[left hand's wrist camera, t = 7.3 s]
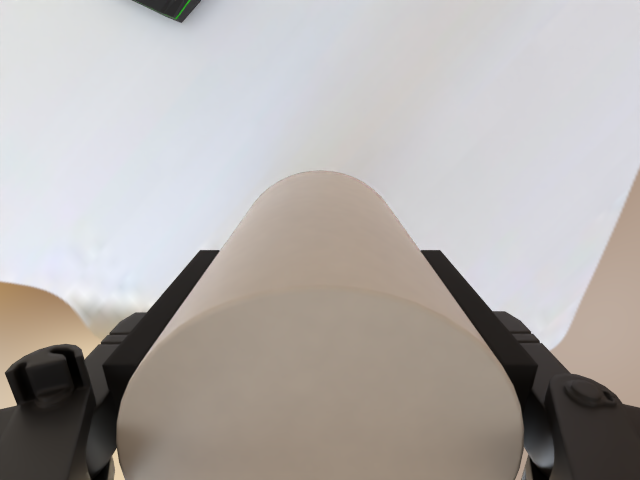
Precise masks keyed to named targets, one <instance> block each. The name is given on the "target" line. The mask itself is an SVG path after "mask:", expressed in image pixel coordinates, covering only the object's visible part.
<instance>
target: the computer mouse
mask: <svg viewBox="0 0 640 480" xmlns="http://www.w3.org/2000/svg"><path fill="white" fill-rule="evenodd" d="M133 1H135V2H137V3H139V4H141V5H143V6H145V7H147V8H149V9H151V10H153V11H156V12H158V13H160V14H162V15H164V16H166V17H168V18H171V19H173V20H176V21H179V22H181V23H182V22H183V20H184V19H185V18H186V17H187V16H188V15H189V14H190V12H191V11H192V10H193V9H194V8H195V7H196V6H197V4H198V3H199V2H200V1H201V0H133Z"/></svg>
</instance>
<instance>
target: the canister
mask: <svg viewBox="0 0 640 480" xmlns="http://www.w3.org/2000/svg"><path fill="white" fill-rule="evenodd" d="M116 445H117V451H118V457H119V463H120V466H121V469H122V472H123V475H124V478H125V480H515V478H516V476H517V473H518V471H519V468H520V463H521V459H522V454H523V449H524V425H523V418H522V412H521V406H520V403H519V400H518V397H517V394H516V391H515V389H514V386H513V384H512V382H511V380H510V379H509V377H508V375H507V373H506V372H505V370H504V368H503V366H502V365H501V363H500V362H499V361H498V359H497V358H496V356H495V355H494V354H493V352H492V351H491V349H490V348H489V347H488V345H487V344H486V342H485V341H484V340H483V338H482V337H481V335H480V334H479V333H478V331H477V330H476V328H475V327H474V326H473V324H472V323H471V321H470V320H469V319H468V317H467V316H466V314H465V313H464V312H463V310H462V309H461V307H460V306H459V305H458V303H457V302H456V300H455V299H454V298H453V296H452V295H451V293H450V292H449V291H448V289H447V288H446V286H445V285H444V283H443V282H442V281H441V279H440V278H439V276H438V275H437V274H436V272H435V271H434V269H433V268H432V267H431V265H430V264H429V262H428V261H427V260H426V258H425V257H424V255H423V254H422V253H421V251H420V250H419V248H418V247H417V246H416V244H415V243H414V241H413V240H412V239H411V237H410V236H409V234H408V233H407V232H406V230H405V229H404V227H403V226H402V225H401V223H400V222H399V220H398V219H397V218H396V216H395V215H394V213H393V212H392V211H391V209H390V208H389V206H388V205H387V204H386V202H385V201H384V200H383V199H382V197H381V196H380V195H379V194H378V193H377V192H375V191H374V190H373V189H372V188H371V187H369V186H368V185H366V184H365V183H363V182H361V181H360V180H358V179H356V178H354V177H351V176H348V175H345V174H342V173H337V172H332V171H308V172H303V173H298V174H295V175H292V176H289V177H287V178H285V179H283V180H280V181H278V182H277V183H275V184H274V185H272V186H271V187H269V188H268V189H267V190H266V191H265V192H264V193H262V194H261V195H260V197H259V198H258V199H257V200H256V201H255V202H254V204H253V205H252V207H251V208H250V209H249V211H248V212H247V214H246V215H245V216H244V218H243V219H242V221H241V222H240V223H239V225H238V226H237V228H236V229H235V230H234V232H233V233H232V235H231V236H230V238H229V239H228V240H227V242H226V243H225V245H224V246H223V247H222V249H221V250H220V252H219V253H218V254H217V256H216V257H215V259H214V260H213V261H212V263H211V264H210V266H209V267H208V268H207V270H206V271H205V273H204V274H203V275H202V277H201V278H200V280H199V281H198V283H197V284H196V285H195V287H194V288H193V290H192V291H191V292H190V294H189V295H188V297H187V298H186V299H185V301H184V302H183V304H182V305H181V306H180V308H179V309H178V311H177V312H176V313H175V315H174V316H173V318H172V319H171V320H170V322H169V323H168V325H167V326H166V328H165V329H164V330H163V332H162V333H161V335H160V336H159V337H158V339H157V340H156V342H155V343H154V344H153V346H152V347H151V349H150V350H149V351H148V353H147V354H146V356H145V357H144V358H143V360H142V361H141V363H140V365H139V366H138V368H137V369H136V371H135V372H134V374H133V376H132V377H131V379H130V380H129V383H128V385H127V388H126V390H125V393H124V395H123V397H122V400H121V404H120V409H119V414H118V419H117V433H116Z"/></svg>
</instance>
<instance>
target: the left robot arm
mask: <svg viewBox="0 0 640 480" xmlns="http://www.w3.org/2000/svg"><path fill="white" fill-rule="evenodd" d="M219 252H220V250H200V251H199V252H198V253H197V255H196V256H195V257H194V258H193V259H192V260H191V262H190V263H189V264H188V265H187V266H186V267H185V269H184V270H183V271H182V272H181V273H180V274H179V276H178V277H177V278H176V279H175V280H174V281H173V283H172V284H171V285H170V286H169V287H168V288H167V290H166V291H165V292H164V293H163V294H162V295H161V297H160V298H159V299H158V300H157V301H156V302H155V304H154V305H153V306H152V307H151V308H150V310H149V311H148V312H147V313H134V314H132V315H131V316H129V317H127V318H126V319H124V320H122V321H121V322H120V323H119V324H118V325H117V326H116V327H115V328H114V329H113V330H112V331H111V332H110V335H107V336H106V337H105V338H104V339H103V341H102V342H101V344H99V345H98V346H97V347H96V348H95V349H94V350H93V351H92V352H91V353H90V354H89V355H88V356H87V357H86V359H85V360H84V357H83V353H82V350H81V349H80V348H79V347H77V346H76V345H70V344H62V345H53V346H50V347H46V348H43V349H39V350H37V351H35V352H33V353H30V354H28V355H26V356H24V357H22V358H21V359H20V360H18V361H17V362H15V363H14V364H12V365H11V366H10V368H9V369H8V370H7V371H6V372H5V375H6V377H7V380H8V382H9V385H10V387H11V390H12V393H13V395H14V398H15V400H16V403H17V406H14V407H9V408H4V409H0V480H114V473H115V467H114V461H113V458H112V455H113V453H114V451H115V450H116V448H117V445H116V433H117V419H118V414H119V409H120V404H121V400H122V397H123V395H124V393H125V390H126V388H127V385H128V383H129V380H130V379H131V377H132V376H133V374H134V372H135V371H136V369H137V368H138V366H139V365H140V363H141V361H142V360H143V358H144V357H145V356H146V354H147V353H148V351H149V350H150V349H151V347H152V346H153V344H154V343H155V342H156V340H157V339H158V337H159V336H160V335H161V333H162V332H163V330H164V329H165V328H166V326H167V325H168V323H169V322H170V320H171V319H172V318H173V316H174V315H175V313H176V312H177V311H178V309H179V308H180V306H181V305H182V304H183V302H184V301H185V299H186V298H187V297H188V295H189V294H190V292H191V291H192V290H193V288H194V287H195V285H196V284H197V283H198V281H199V280H200V278H201V277H202V275H203V274H204V273H205V271H206V270H207V268H208V267H209V266H210V264H211V263H212V261H213V260H214V259H215V257H216V256H217V254H218V253H219ZM421 253H422V254H423V255H424V257H425V258H426V260H427V261H428V262H429V264H430V265H431V267H432V268H433V269H434V271H435V272H436V274H437V275H438V276H439V278H440V279H441V281H442V282H443V283H444V285H445V286H446V288H447V289H448V291H449V292H450V293H451V295H452V296H453V298H454V299H455V300H456V302H457V303H458V305H459V306H460V307H461V309H462V310H463V312H464V313H465V314H466V316H467V317H468V319H469V320H470V321H471V323H472V324H473V326H474V327H475V328H476V330H477V331H478V333H479V334H480V335H481V337H482V338H483V340H484V341H485V342H486V344H487V345H488V347H489V348H490V349H491V351H492V352H493V354H494V355H495V356H496V358H497V359H498V361H499V362H500V363H501V365H502V366H503V368H504V370H505V372H506V373H507V375H508V377H509V379H510V380H511V382H512V384H513V386H514V389H515V391H516V394H517V397H518V400H519V403H520V406H521V412H522V418H523V425H524V448H525V449H526V451H527V452H528V458H527V461H526V465H525V468H524V472H523V475H522V479H521V480H640V408H638V407H634V406H629V405H625V404H622V402H621V401H620V400H619V398H618V397H617V396H616V395H615V394H614V393H613V392H611V391H610V390H609V389H608V388H606V387H605V386H603V385H601V384H599V383H598V382H596V381H594V380H592V379H589V378H586V377H583V376H580V375H576V374H571V373H570V372H569V371H568V370H567V369H566V368H565V367H564V366H563V365H562V364H561V363H560V362H559V361H558V360H557V359H556V358H555V357H554V356H553V354H552V353H551V352H550V351H549V350H548V349H547V348H546V347H545V346H544V345H543V344H542V343H540V341H539V340H538V339H537V338H536V337H535V336H534V334H531V331H530V330H529V329H528V328H527V327H526V326H525V325H524V324H523V323H522V322H521V321H520V320H518V319H517V318H515V317H513V316H512V315H510V314H508V313H507V312H505V311H492V310H491V309H490V308H489V307H488V306H487V305H486V303H485V302H484V301H483V300H482V299H481V298H480V296H479V295H478V294H477V293H476V292H475V291H474V289H473V288H472V287H471V286H470V285H469V284H468V282H467V281H466V280H465V279H464V278H463V276H462V275H461V274H460V273H459V272H458V271H457V269H456V268H455V267H454V266H453V265H452V264H451V262H450V261H449V260H448V259H447V258H446V257H445V255H444V254H443V253H442V252H441V251H440V250H421Z"/></svg>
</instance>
